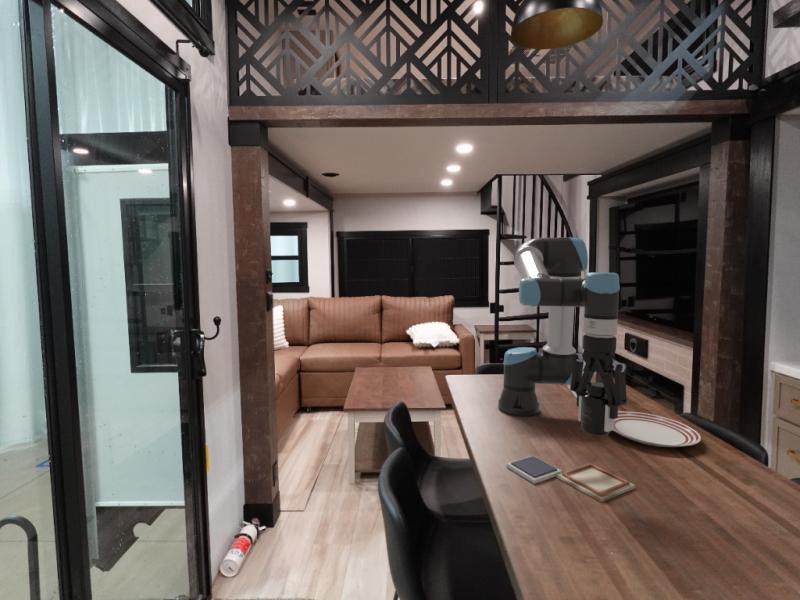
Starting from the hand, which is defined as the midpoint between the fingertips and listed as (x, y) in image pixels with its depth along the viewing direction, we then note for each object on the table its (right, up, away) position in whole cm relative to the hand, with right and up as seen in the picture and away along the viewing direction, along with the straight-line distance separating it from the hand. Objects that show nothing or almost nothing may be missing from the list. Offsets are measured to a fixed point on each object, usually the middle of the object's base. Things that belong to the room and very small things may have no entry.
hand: (595, 425), depth 106 cm
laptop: (+31, -9, +74) cm, 81 cm away
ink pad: (-13, -14, +7) cm, 21 cm away
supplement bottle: (0, -2, 0) cm, 2 cm away
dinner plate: (+32, -13, +31) cm, 46 cm away
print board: (0, -15, +1) cm, 15 cm away
